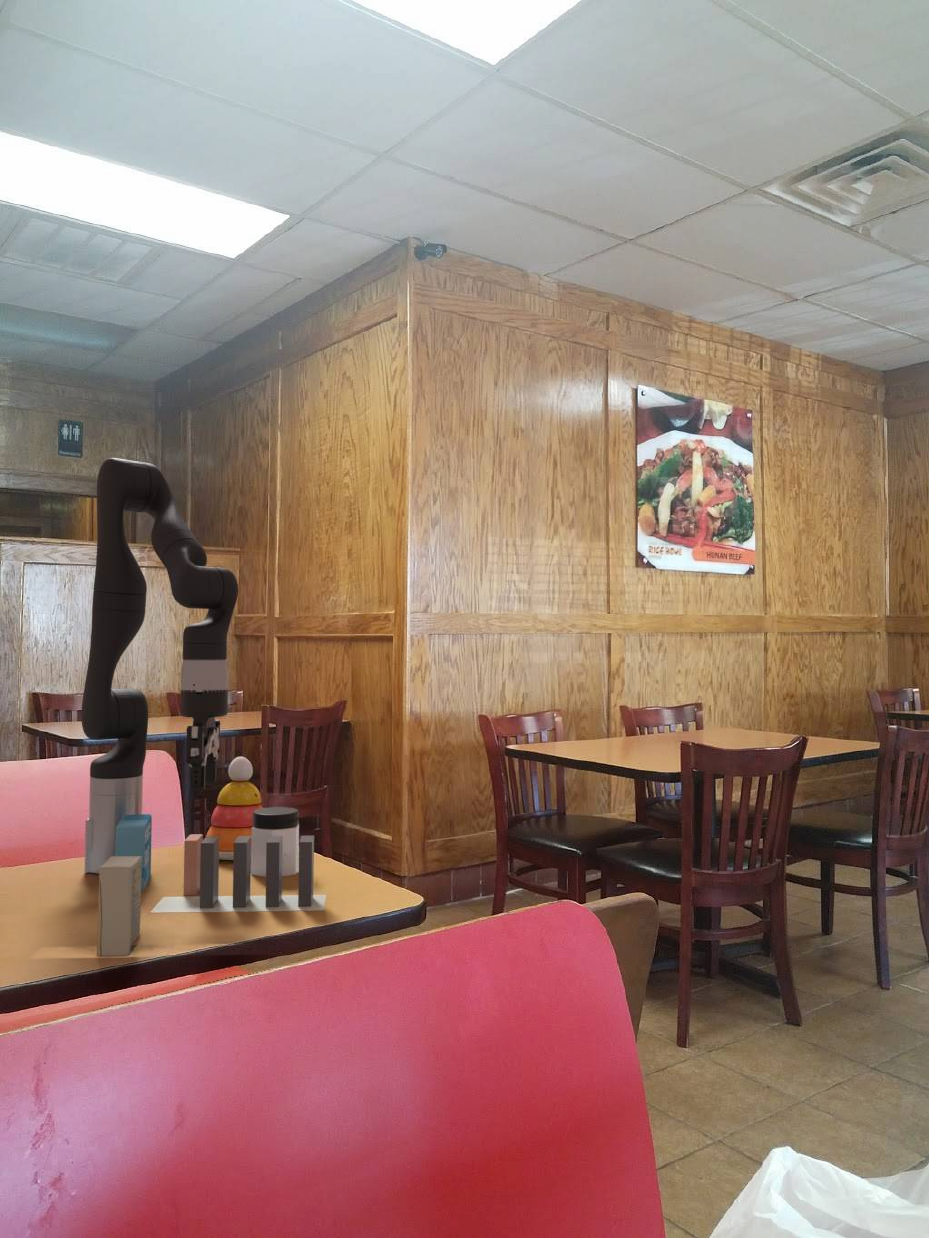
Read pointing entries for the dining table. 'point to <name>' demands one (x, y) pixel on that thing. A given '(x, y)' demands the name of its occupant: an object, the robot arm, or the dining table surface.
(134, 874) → the skincare box
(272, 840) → the tile
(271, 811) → the jar
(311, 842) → the tile
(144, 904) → the dining table surface
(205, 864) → the tile
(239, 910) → the white flat strip
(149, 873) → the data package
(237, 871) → the tile
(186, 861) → the brick tile
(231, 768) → the stacking toy
